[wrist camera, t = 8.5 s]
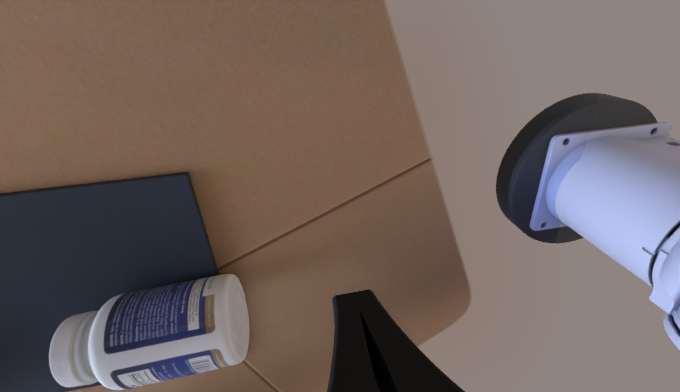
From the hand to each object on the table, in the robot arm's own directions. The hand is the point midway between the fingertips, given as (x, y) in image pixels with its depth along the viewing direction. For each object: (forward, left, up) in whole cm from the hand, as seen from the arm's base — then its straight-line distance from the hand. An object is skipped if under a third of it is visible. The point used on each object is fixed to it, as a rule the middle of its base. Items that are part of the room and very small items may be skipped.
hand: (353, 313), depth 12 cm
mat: (+17, +6, -10) cm, 21 cm away
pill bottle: (+6, +7, -7) cm, 11 cm away
